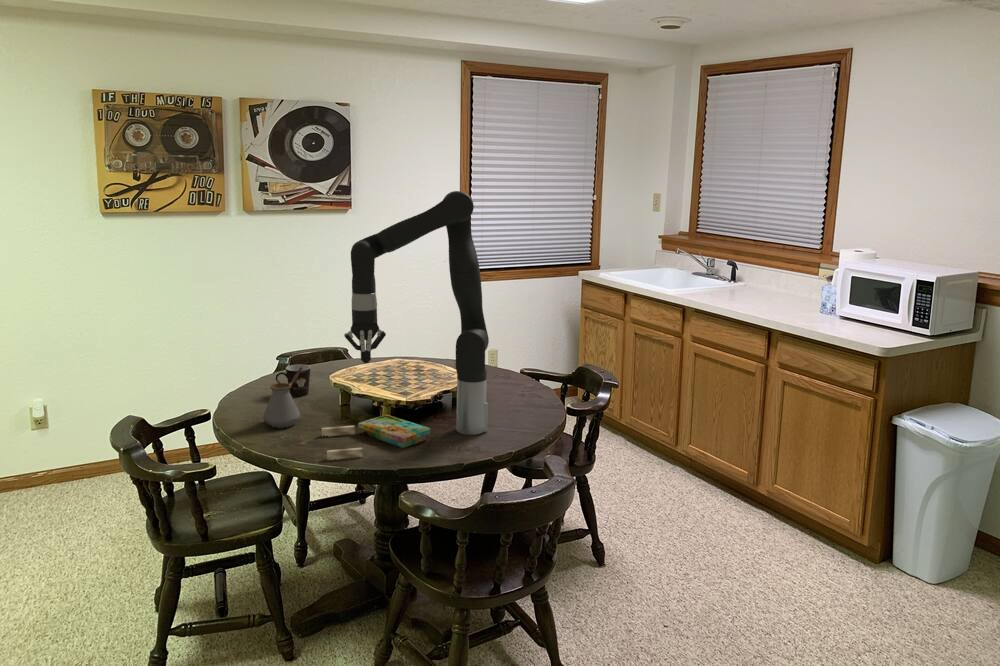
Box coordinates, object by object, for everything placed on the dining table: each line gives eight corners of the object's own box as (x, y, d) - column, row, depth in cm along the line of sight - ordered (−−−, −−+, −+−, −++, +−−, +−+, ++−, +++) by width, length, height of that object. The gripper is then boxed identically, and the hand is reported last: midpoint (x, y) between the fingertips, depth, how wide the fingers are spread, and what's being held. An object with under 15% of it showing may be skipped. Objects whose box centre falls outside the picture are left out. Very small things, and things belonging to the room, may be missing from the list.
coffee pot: (290, 431, 240) (288, 385, 237) (256, 428, 243) (254, 382, 239) (319, 410, 261) (318, 368, 257) (288, 407, 263) (286, 365, 260)
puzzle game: (402, 436, 227) (358, 420, 239) (402, 451, 228) (358, 434, 240) (430, 426, 236) (386, 411, 248) (430, 440, 237) (386, 425, 249)
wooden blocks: (354, 433, 241) (354, 425, 240) (362, 457, 222) (362, 448, 221) (321, 435, 238) (321, 427, 237) (327, 460, 219) (327, 452, 218)
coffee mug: (313, 391, 282) (312, 364, 280) (308, 398, 274) (307, 371, 272) (281, 390, 282) (280, 364, 279) (275, 397, 273) (274, 370, 271)
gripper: (383, 303, 238) (384, 358, 242) (340, 306, 234) (342, 361, 238) (388, 308, 232) (389, 364, 235) (344, 310, 227) (345, 367, 231)
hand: (365, 362), depth 237 cm, fingers closed
